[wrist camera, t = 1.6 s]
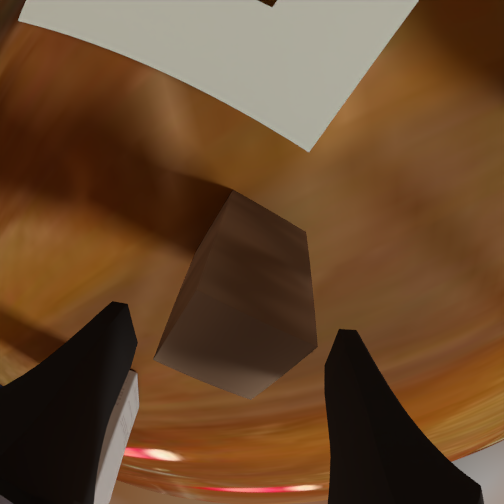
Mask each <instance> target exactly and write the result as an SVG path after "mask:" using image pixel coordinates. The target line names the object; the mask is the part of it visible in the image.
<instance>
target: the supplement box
mask: <svg viewBox="0 0 504 504" xmlns="http://www.w3.org/2000/svg"><path fill="white" fill-rule="evenodd" d="M138 409H139V397H138V380H137V373H136V372H134V371H131V370H129V372H128V375H127V377H126V379H125V382H124V384H123V387H122V389H121V391H120V394H119V396H118V399H117V401H116V404H115V406H114V408H113V411H112V413H111V416H110V419H109V422H108V425H107V429H106V432H105V436H104V440H103V445H102V449H101V454H100V459H99V464H98V471H97V477H96V485H95V496H94V504H109V502H110V498H111V495H112V492H113V488H114V484H115V481H116V478H117V474H118V471H119V468H120V464H121V461H122V458H123V454H124V451H125V448H126V445H127V441H128V438H129V435H130V432H131V429H132V426H133V423H134V420H135V417H136V415H137V412H138Z"/></svg>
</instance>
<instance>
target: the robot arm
mask: <svg viewBox="0 0 504 504" xmlns="http://www.w3.org/2000/svg"><path fill="white" fill-rule="evenodd" d="M137 343H138V342H137V338H136V335H135V331H134V327H133V324H132V320H131V316H130V312H129V308H128V304H125V303H119V302H114V301H112V302H111V303H110V304H109V305H108V306H106V307H105V308H104V309H103V310H102V311H101V312H100V313H99V314H97V315H96V316H95V317H94V318H93V319H92V320H91V321H90V322H89V323H88V324H86V325H85V326H84V327H83V328H82V329H81V330H80V331H79V332H77V333H76V334H75V335H74V336H73V337H72V338H71V339H70V340H68V341H67V342H66V343H65V344H64V345H62V346H61V347H60V348H59V349H58V350H56V351H55V352H54V353H53V354H52V355H50V356H49V357H48V358H47V359H45V360H44V361H43V362H41V363H40V364H38V365H37V366H36V367H34V368H33V369H31V370H30V371H28V372H27V373H25V374H24V375H22V376H21V377H19V378H17V379H15V380H14V381H12V382H10V383H9V384H7V385H5V386H4V387H2V388H0V504H94V496H95V485H96V477H97V471H98V464H99V459H100V454H101V449H102V445H103V440H104V436H105V432H106V429H107V425H108V422H109V419H110V416H111V413H112V411H113V408H114V406H115V404H116V401H117V399H118V396H119V394H120V391H121V389H122V387H123V384H124V382H125V379H126V377H127V375H128V372H129V370H130V367H131V364H132V361H133V357H134V354H135V350H136V347H137ZM324 381H325V401H326V410H327V420H328V429H329V439H330V455H331V460H330V483H329V497H328V504H484V501H483V495H482V490H481V486H480V485H479V484H478V483H476V482H475V481H474V480H472V479H471V478H470V477H468V476H467V475H466V474H464V473H463V472H462V471H460V470H459V469H458V468H457V467H456V466H455V465H454V464H453V463H451V462H450V461H449V460H448V459H447V458H446V457H445V456H444V455H443V454H442V453H441V452H440V451H439V450H438V449H437V448H436V447H435V446H434V445H433V444H432V443H431V441H430V440H429V439H428V438H427V437H426V436H425V435H424V434H423V432H422V431H421V430H420V429H419V428H418V426H417V425H416V424H415V423H414V421H413V420H412V419H411V418H410V416H409V415H408V414H407V412H406V411H405V409H404V408H403V407H402V405H401V404H400V402H399V401H398V399H397V398H396V396H395V395H394V393H393V392H392V390H391V389H390V387H389V386H388V384H387V382H386V381H385V379H384V377H383V376H382V374H381V372H380V371H379V369H378V367H377V366H376V364H375V362H374V360H373V359H372V357H371V355H370V353H369V352H368V350H367V348H366V346H365V344H364V343H363V341H362V339H361V337H360V335H359V334H358V332H357V331H356V330H345V329H339V330H338V333H337V336H336V338H335V341H334V344H333V346H332V349H331V351H330V354H329V356H328V359H327V361H326V363H325V380H324Z"/></svg>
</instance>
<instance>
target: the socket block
mask: <svg viewBox="0 0 504 504" xmlns="http://www.w3.org/2000/svg"><path fill="white" fill-rule="evenodd" d="M418 1H419V0H277V2H276V3H275V4H274V6H273V7H270V6H268V5H266V4H264V3H262V2H260V1H258V0H26V2H25V4H24V7H23V9H22V12H21V14H20V17H19V19H18V21H21V22H25V23H28V24H32V25H36V26H40V27H43V28H47V29H50V30H53V31H57V32H60V33H63V34H66V35H69V36H72V37H75V38H78V39H81V40H84V41H87V42H90V43H93V44H95V45H98V46H101V47H104V48H106V49H109V50H112V51H114V52H117V53H119V54H122V55H124V56H127V57H129V58H132V59H134V60H136V61H139V62H141V63H143V64H146V65H148V66H150V67H153V68H155V69H157V70H159V71H162V72H164V73H166V74H168V75H170V76H172V77H175V78H177V79H179V80H181V81H183V82H185V83H187V84H189V85H191V86H193V87H195V88H197V89H199V90H201V91H203V92H205V93H207V94H209V95H211V96H213V97H215V98H217V99H219V100H221V101H222V102H224V103H226V104H228V105H230V106H232V107H234V108H235V109H237V110H239V111H241V112H243V113H244V114H246V115H248V116H250V117H252V118H253V119H255V120H257V121H258V122H260V123H262V124H264V125H265V126H267V127H269V128H270V129H272V130H274V131H275V132H277V133H279V134H280V135H282V136H284V137H285V138H287V139H289V140H290V141H292V142H293V143H295V144H297V145H298V146H300V147H301V148H303V149H304V150H306V151H307V152H310V150H311V149H312V147H313V146H314V145H315V143H316V142H317V140H318V139H319V138H320V136H321V135H322V133H323V132H324V131H325V129H326V128H327V126H328V125H329V124H330V122H331V121H332V119H333V118H334V117H335V115H336V114H337V112H338V111H339V110H340V108H341V107H342V105H343V104H344V103H345V101H346V100H347V98H348V97H349V96H350V94H351V93H352V92H353V90H354V89H355V87H356V86H357V85H358V83H359V82H360V80H361V79H362V78H363V76H364V75H365V74H366V72H367V71H368V69H369V68H370V67H371V65H372V64H373V62H374V61H375V60H376V58H377V57H378V56H379V54H380V53H381V51H382V50H383V49H384V47H385V46H386V45H387V43H388V42H389V40H390V39H391V38H392V36H393V35H394V34H395V32H396V31H397V30H398V28H399V27H400V25H401V24H402V23H403V21H404V20H405V19H406V17H407V16H408V15H409V13H410V12H411V10H412V9H413V8H414V6H415V5H416V4H417V2H418Z"/></svg>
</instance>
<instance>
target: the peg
mask: <svg viewBox="0 0 504 504" xmlns="http://www.w3.org/2000/svg"><path fill="white" fill-rule="evenodd" d="M317 347H318V346H317V333H316V321H315V310H314V299H313V289H312V280H311V270H310V261H309V252H308V244H307V236H306V232H305V231H303V230H302V229H300V228H298V227H297V226H295V225H293V224H292V223H290V222H288V221H287V220H285V219H283V218H281V217H280V216H278V215H276V214H275V213H273V212H271V211H269V210H268V209H266V208H264V207H263V206H261V205H259V204H257V203H256V202H254V201H252V200H250V199H249V198H247V197H245V196H243V195H242V194H240V193H238V192H236V191H234V190H233V191H232V192H231V194H230V195H229V197H228V199H227V200H226V202H225V204H224V205H223V207H222V209H221V210H220V212H219V214H218V215H217V217H216V219H215V220H214V222H213V224H212V225H211V227H210V229H209V230H208V232H207V234H206V235H205V237H204V239H203V240H202V242H201V244H200V246H199V247H198V249H197V251H196V253H195V255H194V258H193V260H192V262H191V265H190V267H189V270H188V272H187V274H186V277H185V279H184V282H183V284H182V287H181V289H180V292H179V294H178V297H177V299H176V302H175V304H174V307H173V309H172V312H171V314H170V317H169V319H168V322H167V325H166V327H165V330H164V332H163V335H162V338H161V340H160V343H159V346H158V348H157V351H156V354H155V356H154V359H153V360H155V361H157V362H159V363H162V364H164V365H166V366H168V367H170V368H173V369H175V370H177V371H179V372H182V373H184V374H186V375H189V376H191V377H193V378H196V379H198V380H200V381H203V382H205V383H208V384H210V385H213V386H215V387H218V388H220V389H223V390H226V391H228V392H231V393H234V394H236V395H239V396H242V397H245V398H247V399H250V400H251V399H252V398H254V397H255V396H257V395H258V394H259V393H261V392H262V391H263V390H265V389H266V388H267V387H268V386H270V385H271V384H272V383H274V382H275V381H276V380H278V379H279V378H280V377H281V376H283V375H284V374H285V373H286V372H288V371H289V370H290V369H291V368H293V367H294V366H295V365H296V364H298V363H299V362H300V361H301V360H302V359H304V358H305V357H306V356H307V355H308V354H310V353H311V352H312V351H313V350H314V349H316V348H317Z"/></svg>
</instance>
